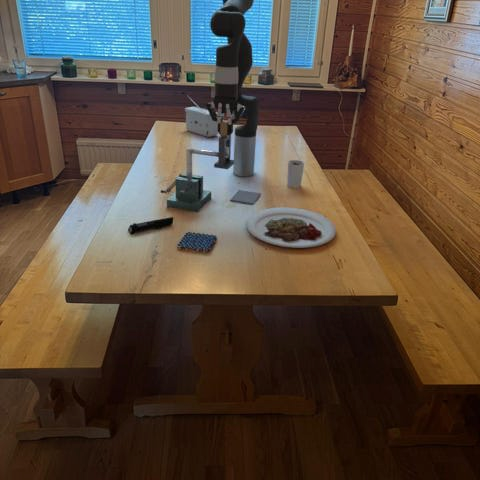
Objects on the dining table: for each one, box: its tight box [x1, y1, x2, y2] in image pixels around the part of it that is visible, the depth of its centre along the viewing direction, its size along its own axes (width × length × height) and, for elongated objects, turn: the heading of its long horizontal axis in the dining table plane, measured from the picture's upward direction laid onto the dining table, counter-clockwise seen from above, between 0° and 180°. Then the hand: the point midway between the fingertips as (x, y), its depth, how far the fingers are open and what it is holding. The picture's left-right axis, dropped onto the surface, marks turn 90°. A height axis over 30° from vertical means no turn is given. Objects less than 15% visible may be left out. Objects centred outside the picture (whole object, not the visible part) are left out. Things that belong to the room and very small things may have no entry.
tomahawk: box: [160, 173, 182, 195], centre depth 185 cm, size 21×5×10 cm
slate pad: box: [229, 189, 261, 205], centre depth 176 cm, size 11×9×1 cm
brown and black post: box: [213, 119, 234, 170], centre depth 155 cm, size 7×5×15 cm
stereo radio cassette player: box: [184, 96, 219, 138], centre depth 254 cm, size 21×8×20 cm, turn 46°
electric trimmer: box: [127, 216, 174, 235], centre depth 149 cm, size 4×15×3 cm, turn 120°
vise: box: [166, 147, 229, 213], centre depth 162 cm, size 16×21×23 cm
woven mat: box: [177, 231, 218, 254], centre depth 141 cm, size 10×11×2 cm
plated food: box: [245, 206, 337, 249], centre depth 152 cm, size 30×30×3 cm
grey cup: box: [286, 159, 305, 189], centre depth 188 cm, size 7×7×10 cm
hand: (225, 134), depth 153 cm, fingers closed on brown and black post, 2 cm apart
